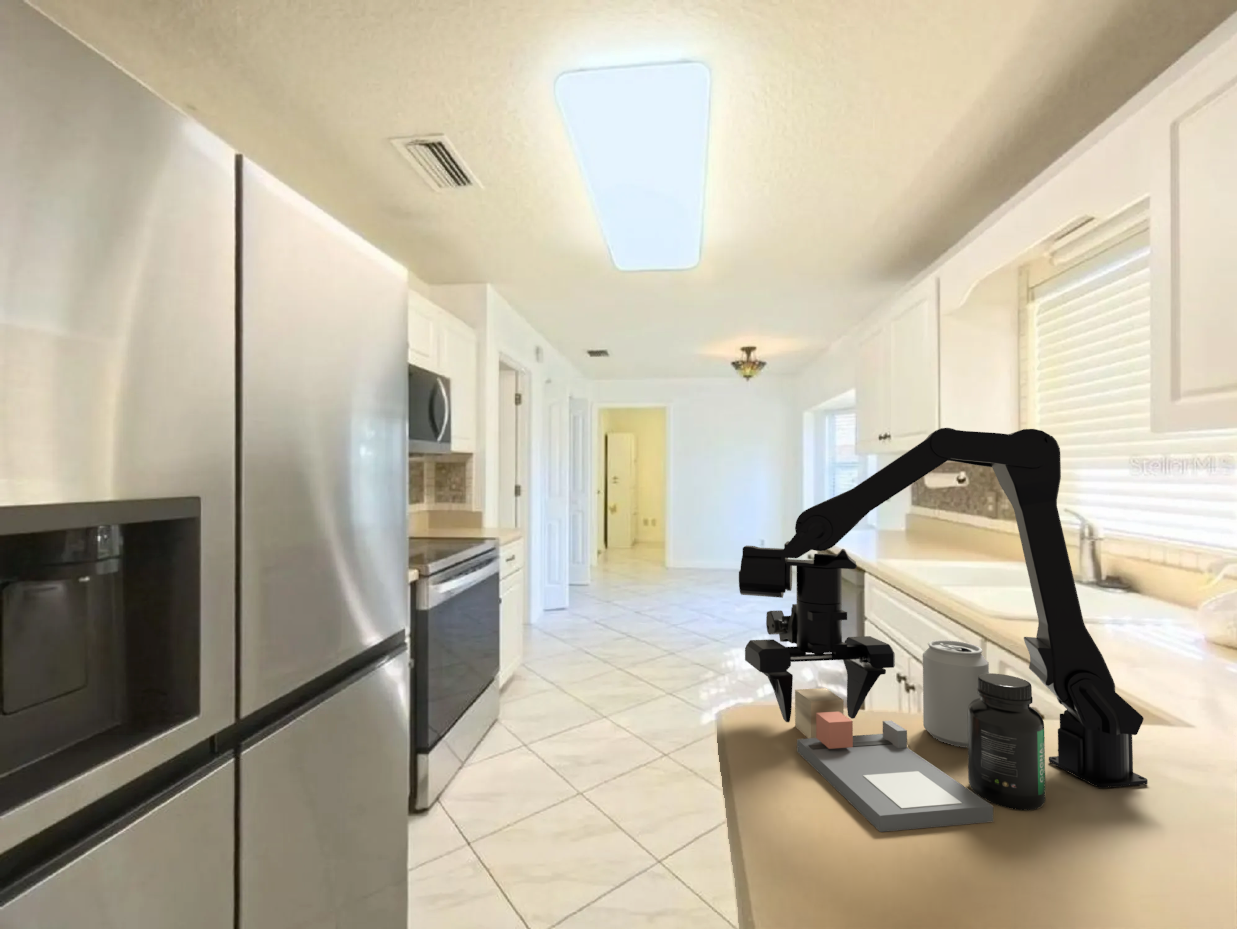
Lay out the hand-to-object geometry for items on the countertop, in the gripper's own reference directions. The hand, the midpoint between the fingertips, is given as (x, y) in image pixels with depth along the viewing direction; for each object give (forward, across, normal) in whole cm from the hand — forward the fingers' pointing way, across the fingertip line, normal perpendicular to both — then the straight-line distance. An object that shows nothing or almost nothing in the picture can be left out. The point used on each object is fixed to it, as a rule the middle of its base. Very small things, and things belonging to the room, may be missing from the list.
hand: (819, 719), depth 78 cm
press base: (+2, 0, +14) cm, 14 cm away
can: (+2, -17, +4) cm, 18 cm away
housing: (+2, 0, 0) cm, 2 cm away
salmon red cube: (0, +2, +7) cm, 8 cm away
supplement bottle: (+2, -12, +18) cm, 21 cm away
